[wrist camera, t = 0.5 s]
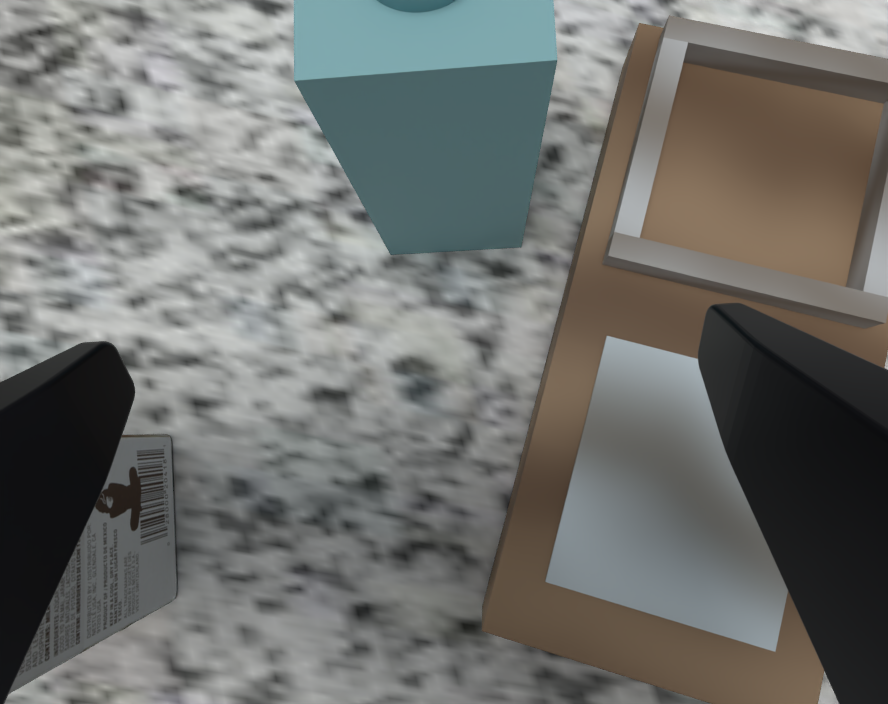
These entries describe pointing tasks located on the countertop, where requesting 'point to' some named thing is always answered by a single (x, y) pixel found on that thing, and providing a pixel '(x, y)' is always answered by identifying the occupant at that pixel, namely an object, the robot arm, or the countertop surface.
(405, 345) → the countertop surface
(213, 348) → the countertop surface
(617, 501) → the walnut base plate
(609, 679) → the countertop surface
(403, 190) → the teal pillar
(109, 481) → the coffee box
